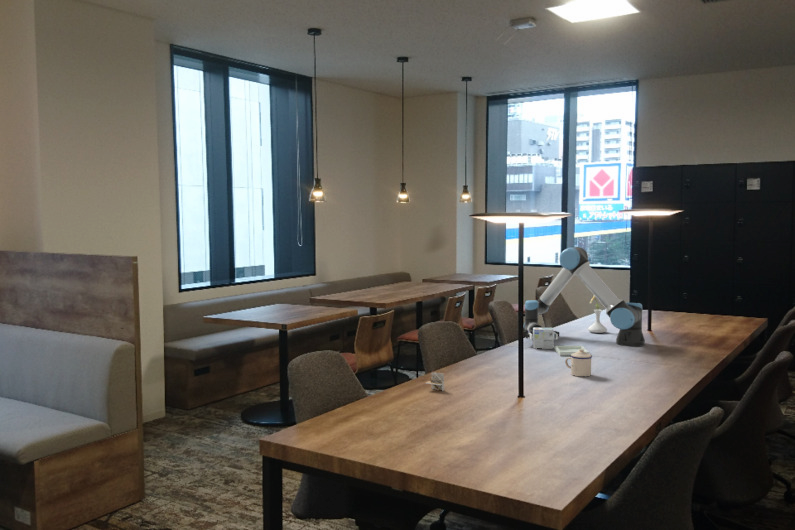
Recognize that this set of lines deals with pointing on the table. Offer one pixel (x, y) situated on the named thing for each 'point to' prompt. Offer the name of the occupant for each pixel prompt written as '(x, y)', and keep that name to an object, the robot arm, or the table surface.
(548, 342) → the light bulb box
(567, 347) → the tray
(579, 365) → the teacup with lid
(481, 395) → the table surface
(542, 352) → the table surface
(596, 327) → the flower in vase
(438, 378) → the architectural model
